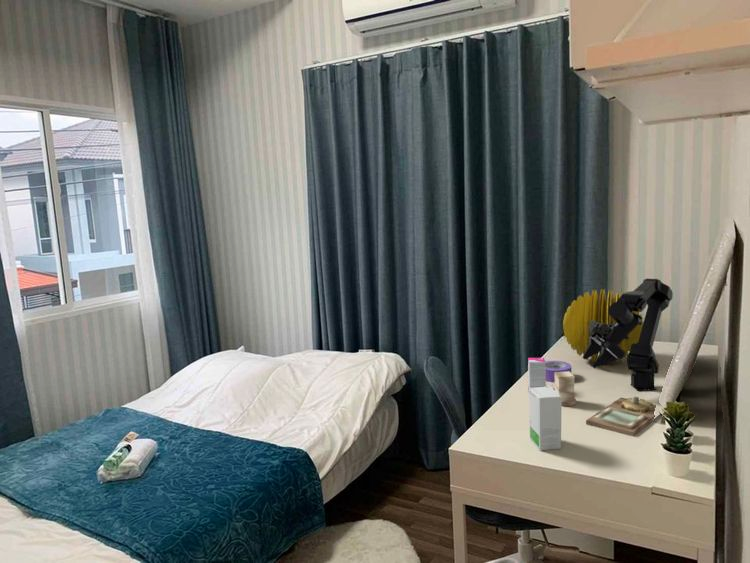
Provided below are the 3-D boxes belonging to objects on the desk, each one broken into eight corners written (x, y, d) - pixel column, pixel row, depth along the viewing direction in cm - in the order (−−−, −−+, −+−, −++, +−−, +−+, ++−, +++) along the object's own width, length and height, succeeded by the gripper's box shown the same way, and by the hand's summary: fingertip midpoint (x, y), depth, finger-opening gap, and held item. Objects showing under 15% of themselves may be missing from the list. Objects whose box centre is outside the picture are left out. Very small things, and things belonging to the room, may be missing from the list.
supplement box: (546, 393, 197) (545, 361, 195) (529, 393, 198) (528, 362, 197) (545, 387, 203) (544, 357, 201) (528, 387, 204) (527, 357, 202)
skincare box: (529, 439, 162) (527, 387, 160) (551, 436, 163) (550, 385, 160) (540, 451, 154) (538, 397, 152) (563, 449, 154) (562, 395, 152)
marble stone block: (572, 398, 191) (571, 370, 189) (578, 406, 184) (578, 376, 182) (551, 399, 191) (550, 371, 189) (557, 407, 184) (556, 378, 182)
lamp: (643, 376, 206) (643, 296, 202) (559, 371, 220) (557, 295, 215) (644, 354, 233) (644, 282, 229) (568, 350, 246) (567, 282, 242)
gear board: (621, 400, 185) (620, 388, 185) (665, 410, 175) (665, 397, 174) (586, 424, 169) (585, 410, 169) (632, 436, 159) (632, 422, 158)
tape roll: (567, 384, 205) (567, 371, 204) (535, 381, 211) (535, 368, 210) (574, 374, 215) (574, 362, 214) (543, 371, 221) (543, 359, 220)
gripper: (594, 306, 191) (562, 339, 194) (614, 318, 173) (579, 355, 175) (617, 327, 192) (585, 360, 194) (640, 341, 174) (605, 377, 176)
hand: (588, 362), depth 185 cm, fingers open, 9 cm apart
